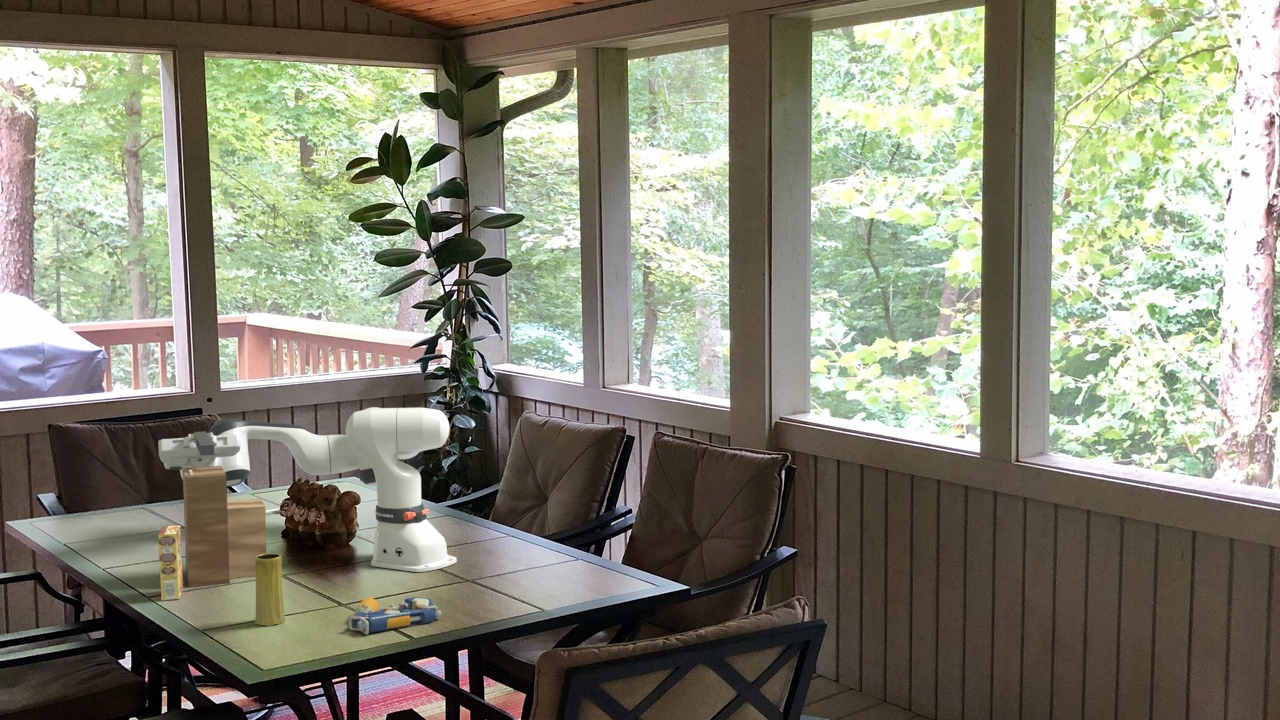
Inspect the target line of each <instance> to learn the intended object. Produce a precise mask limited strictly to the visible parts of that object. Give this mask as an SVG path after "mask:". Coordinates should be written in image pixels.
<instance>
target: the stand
mask: <svg viewBox="0 0 1280 720" xmlns="http://www.w3.org/2000/svg"><path fill="white" fill-rule="evenodd" d="M182 485H183V487H182V489H183V515H184V517H183V518H184V520H183V521H184V541H185V542H184V543H185V568H186V569H185V570H186V571H185V572H186V577H187V583H188V582H189V583H188V585H189V588H193V587H194V586H196V587H203V586H215V585H223V584H224V585H225V584H230V580H231V579H239V578H238V577H242V578H250V577H249V576H252V577H256V565H255V557H256V556H258V555H261V554H267V553H268V552H267V525H266V524H267V521H266V512H265V510H266V505H265V504H264V502H263V500H262V499H261V498H253V499H252V498H251V499H240V500H237V499H236V500H228V493H227V491H228V489H227V488H228V487H227V482H226V474H225V472H224V470H223V468H222V466H209V467H194V468H183V479H182ZM194 588H195V587H194Z"/></svg>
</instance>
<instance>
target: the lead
mask: <svg viewBox="0 0 1280 720" xmlns="http://www.w3.org/2000/svg"><path fill="white" fill-rule="evenodd" d="M207 433H208V432H207V431H206V430H205V431H193V434H195V444H196V446H197V448H198V450H199V452H200V455H201V456H204V455H214V444H213V443H212V441H211V439H210V437H209V435H208V434H207Z"/></svg>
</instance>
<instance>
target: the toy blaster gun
mask: <svg viewBox="0 0 1280 720" xmlns="http://www.w3.org/2000/svg"><path fill="white" fill-rule="evenodd" d="M398 606H399V607H398V608H397V606H395V605H394V604H390V605H389V607H385V608H381V609H380V606H379V602H377V600H376V599H375V598H372V597H366V598H363V599H362V600H361V601H360V603H359V604H358V605H357V607H356V608H355V610H354V614H353V616H350V617H349V618H348V629H349V631H360V632H361V633H363V634H364V635H368V634H369V633H370V634H372V633H377V632H385V631H390V629H391V630H394V629H396V628H397V629H401V627H403V628H408V627H407V626H409V627H413V626H412V625H414V626H419V625H418V624H420V625H424V624H431V623H434V621H435V620H437V618H441V617H442V615H443V613H442V610H438V607H437V605H434V603H433V600H432V598H427V597H421V596H414V597H407V598H405V599H404V601H400V602H399V603H398ZM352 620H353V624H352ZM352 625H353V626H352ZM384 630H385V631H384Z"/></svg>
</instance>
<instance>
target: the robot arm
mask: <svg viewBox="0 0 1280 720" xmlns="http://www.w3.org/2000/svg"><path fill="white" fill-rule="evenodd" d="M450 429H451V428H450V422H449V420H448V417H447V416H446V414H445V413H444V412H443V411H442V410H441V409H440V410H439V409H434V408H428V407H376V406H375V407H374V406H373V407H367V408H365V409H362V410H358V411H354V412H353V413H352V414H351V415H350V416H349V418H348V420H347V422H346V425H345V434H327V435H319V434H315V433H312V432H310V431H308V430H307V429H306V427H304V426H303V425H302V426H301V425H298V424H289V423H278V422H266V421H265V422H263V421H252V420H251V421H249V420H244V419H239V418H227V417H226V418H220V419H217V421H216V422H214V423H213V425H212V426H211V427H210V428H209V431H208V432H207V434H208V435H209V437H210V439H211V441H212V443H213V444H214V455H204V456H201V455H200V452H199V450H198V448H197V446H196V444H195V434H194V433H189V434H188V436H186V437H179V438H178V437H177V438H162V439H159V440H158V443H157V445H158V457H159V459H160V461H161V462H162V463H163V466H164V468H165V470H175V471H179V472H180V477H181V480H183V468H194V467H209V466H222V468H223V470H224V472H225V474H226V482H227V488H229V487H235V486H238V485H240V484H241V483H243V482H244V481H245V480H246V479H247V478H248V477H249V476H250V474H251V464H250V462H251V461H250V455H249V444H248V441H249V440H250V439H251V440H252V439H253V440H267V441H277V442H280V443H283V444H284V445H285V446H286V447H287V448H288V449H289V452H290V453H291V455H292V457H293V459H294V461H295V463H296V464H297V465H298V467H300V469H301V470H302V471H304V472H305V473H307V474H308V475H310V476H311V475H312V476H326V475H335V474H341V473H346V472H351V471H355V470H358V471H357V472H354V473H353V474H354V476H355V477H358V479H359V481H361V482H362V483H363V484H365V485H366V486H371V487H376V496H377V497H376V498H377V504H376V505H375V511H374V513H375V520H377V521H376V522H377V525H376V529H375V532H374V543H373V553H372V558H371V561H370V566H371V567H375V568H376V567H377V568H384V569H391V570H399V571H405V572H415V573H424V572H428V571H429V572H430V571H435V570H439V569H444V568H445V567H449V566H451V565H454V564H455V563H457V562H458V560H457V556H453V555H450V554H448V549H447V542H446V539H445V537H444V536H443V535H442V534H441V533H440V532H439V531H438V530H437V529H436V527H434V526H433V524H431V523H430V522H429V521H428V519H427V518H428V515H427V514H430V512H428V511H430V509H429V508H425V506H424V503H422V476H421V474H420V473H419V470H417V469H416V468H415V467H414V466H412V465H409V464H407V463H405V462H403V461H401V460H409V459H412V458H414V457H416V456H417V455H418V454H419V453H422V452H424V451H428V450H435V449H438V448H441V447H443V446H444V445H445V444H446V442H447V440H448V438H449V435H450Z"/></svg>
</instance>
